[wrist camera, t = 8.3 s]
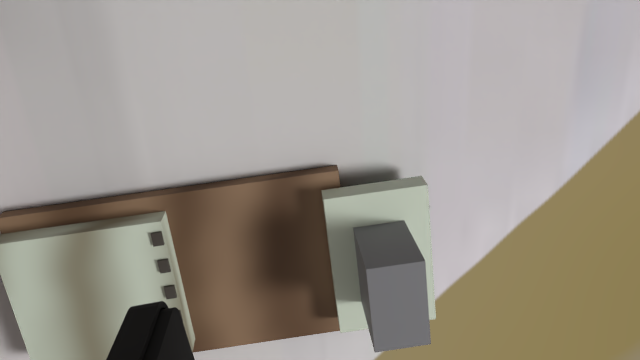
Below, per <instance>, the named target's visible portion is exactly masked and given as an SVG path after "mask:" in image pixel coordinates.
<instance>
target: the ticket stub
mask: <svg viewBox="0 0 640 360" xmlns="http://www.w3.org/2000/svg"><path fill="white" fill-rule="evenodd" d="M321 191H322V199H323V207H324V215H325V222H326V230H327V238H328V246H329V253H330V261H331V269H332V277H333V284H334V292H335V300H336V308H337V315H338V322H339V327H340V333H344V332H350V331H357V330H364V329H369V332H370V336H371V340H372V343H373V347H374V351H375V352H381V351H388V350H394V349H401V348H407V347H413V346H421V345H428V344H431V340H430V325H429V320H431V319H436V316H435V315H436V314H435V298H434V281H433V265H432V248H431V232H430V215H429V198H428V185H427V183H426V182H425V180H424V179H423V178H422V176H418V177H411V178H404V179H397V180H390V181H383V182H376V183H369V184H362V185H355V186H348V187H341V188H333V189H326V190H321Z"/></svg>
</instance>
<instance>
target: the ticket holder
mask: <svg viewBox="0 0 640 360" xmlns="http://www.w3.org/2000/svg"><path fill="white" fill-rule="evenodd" d="M333 188H340V180H339V171H338V168H337V165H334V166H327V167H320V168H313V169H306V170H299V171H291V172H284V173H277V174H270V175H263V176H256V177H249V178H241V179H234V180H227V181H220V182H213V183H206V184H199V185H191V186H184V187H177V188H170V189H163V190H156V191H149V192H141V193H134V194H127V195H120V196H113V197H106V198H99V199H91V200H84V201H77V202H70V203H63V204H56V205H49V206H41V207H34V208H27V209H20V210H13V211H6V212H3V213H2V214H1V215H0V231H1V235H0V275H1V278H2V281H3V284H4V287H5V289H6V292H7V295H8V298H9V301H10V304H11V306H12V309H13V312H14V315H15V318H16V320H17V323H18V326H19V329H20V332H21V335H22V337H23V340H24V343H25V346H26V349H27V351H28V354H29V357H30V360H106V359H107V357H108V354H109V352H110V350H111V347H112V345H113V343H114V341H115V338H116V336H117V334H118V332H119V329H120V327H121V325H122V322H123V320H124V318H125V316H126V313H127V311H128V309H129V308H130V307H132V306H137V305H142V304H148V303H154V302H159V301H164V302H165V303H166V304H167V306H168V308H173V307H176V308H177V309H178V310H179V312H180V315H181V318H182V321H183V324H184V327H185V331H186V334H187V337H188V340H189V343H190V347H191V350H192V352H199V351H205V350H212V349H219V348H225V347H232V346H239V345H246V344H252V343H259V342H266V341H272V340H279V339H286V338H293V337H299V336H306V335H313V334H319V333H326V332H333V331H340V327H339V322H338V315H337V308H336V300H335V292H334V284H333V277H332V269H331V261H330V253H329V246H328V238H327V230H326V222H325V215H324V207H323V199H322V191H321V190H326V189H333Z"/></svg>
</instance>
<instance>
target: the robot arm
mask: <svg viewBox="0 0 640 360" xmlns="http://www.w3.org/2000/svg"><path fill="white" fill-rule="evenodd" d="M106 360H194V356H193V353H192V350H191V347H190V343H189V340H188V337H187V334H186V331H185V327H184V324H183V321H182V318H181V315H180V312H179V310H178V309H177V308H176V307H173V308H168V306H167V304H166V303H165V302H164V301H159V302H154V303H148V304H142V305H137V306H132V307H130V308H129V309H128V311H127V313H126V316H125V318H124V320H123V322H122V325H121V327H120V329H119V332H118V334H117V336H116V338H115V341H114V343H113V345H112V347H111V350H110V352H109V354H108V357H107V359H106Z"/></svg>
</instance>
